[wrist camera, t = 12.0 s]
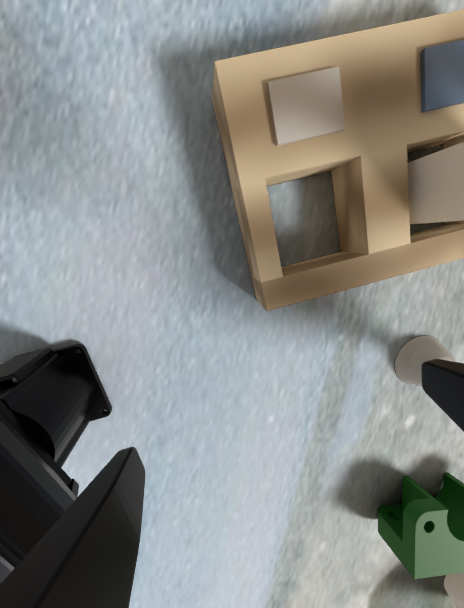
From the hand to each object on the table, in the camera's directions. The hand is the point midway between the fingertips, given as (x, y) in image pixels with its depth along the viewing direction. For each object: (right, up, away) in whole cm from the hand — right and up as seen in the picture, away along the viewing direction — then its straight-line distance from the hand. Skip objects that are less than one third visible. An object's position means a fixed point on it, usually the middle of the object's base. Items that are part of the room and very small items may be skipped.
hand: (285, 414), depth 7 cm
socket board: (+7, +13, +11) cm, 18 cm away
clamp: (+20, -18, +21) cm, 34 cm away
